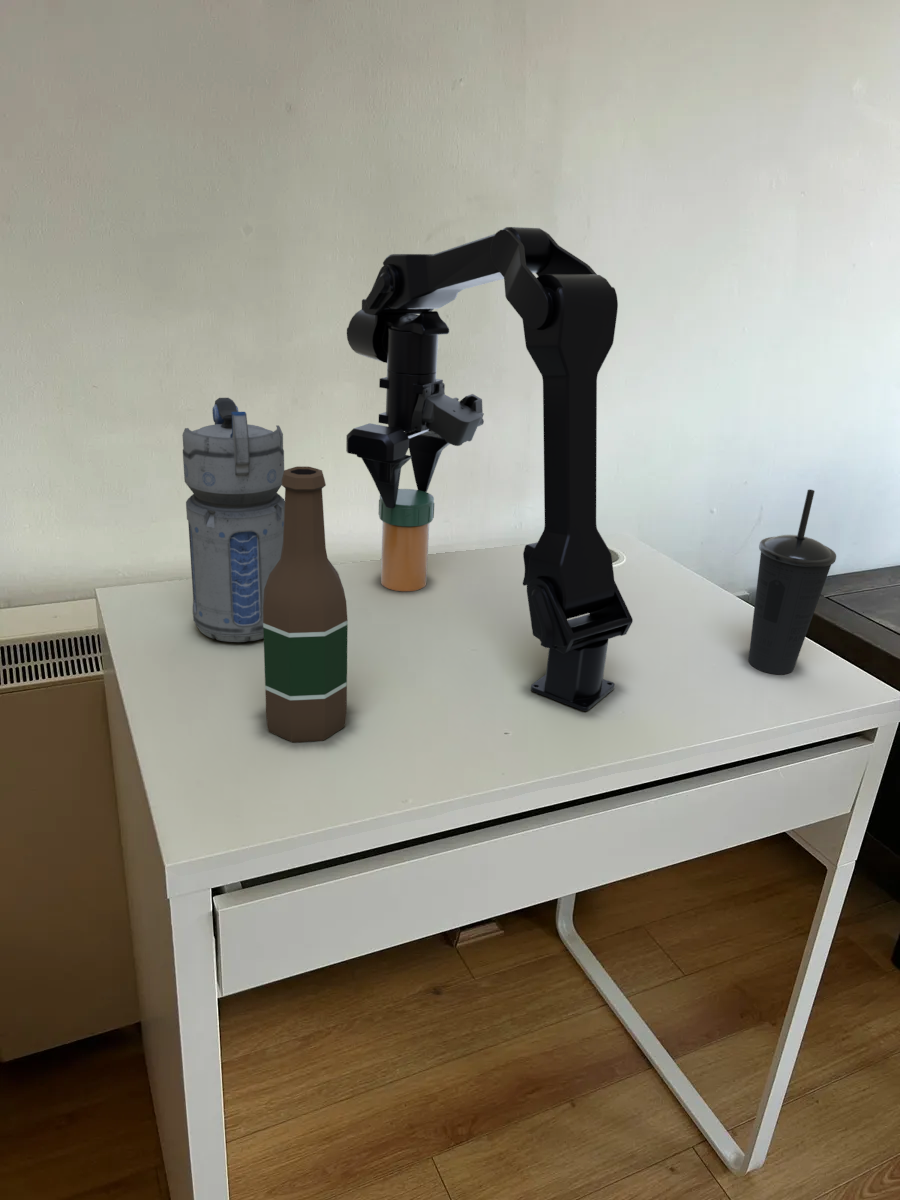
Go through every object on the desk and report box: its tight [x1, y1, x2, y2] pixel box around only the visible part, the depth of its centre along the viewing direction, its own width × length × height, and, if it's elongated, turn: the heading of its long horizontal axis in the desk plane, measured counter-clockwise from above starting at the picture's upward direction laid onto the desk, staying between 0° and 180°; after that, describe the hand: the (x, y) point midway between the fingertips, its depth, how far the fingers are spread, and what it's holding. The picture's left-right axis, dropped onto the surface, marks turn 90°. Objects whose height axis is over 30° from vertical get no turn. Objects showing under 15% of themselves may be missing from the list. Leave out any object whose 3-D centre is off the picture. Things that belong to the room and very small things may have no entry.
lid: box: [378, 488, 435, 527], centre depth 111 cm, size 7×7×3 cm
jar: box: [380, 520, 430, 592], centre depth 113 cm, size 6×6×11 cm
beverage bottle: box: [181, 397, 285, 643], centre depth 96 cm, size 10×13×25 cm
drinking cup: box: [748, 489, 837, 675], centre depth 95 cm, size 8×8×20 cm
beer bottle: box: [263, 466, 349, 743], centre depth 78 cm, size 8×8×24 cm
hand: (406, 499), depth 110 cm, fingers open, 7 cm apart
